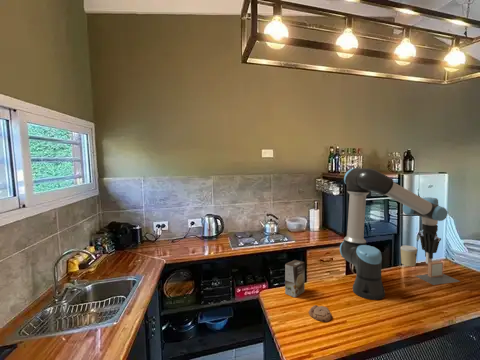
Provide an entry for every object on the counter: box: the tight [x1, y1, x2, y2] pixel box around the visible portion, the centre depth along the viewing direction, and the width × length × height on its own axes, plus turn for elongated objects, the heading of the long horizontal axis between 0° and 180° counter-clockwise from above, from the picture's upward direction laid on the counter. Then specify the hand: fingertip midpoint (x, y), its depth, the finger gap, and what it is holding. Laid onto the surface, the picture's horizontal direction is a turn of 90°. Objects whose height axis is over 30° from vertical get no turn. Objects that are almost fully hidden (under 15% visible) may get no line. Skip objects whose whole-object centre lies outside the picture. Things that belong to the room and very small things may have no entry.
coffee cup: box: [400, 245, 418, 267], centre depth 173 cm, size 9×9×12 cm
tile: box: [427, 260, 444, 277], centre depth 155 cm, size 8×2×8 cm, turn 101°
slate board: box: [415, 273, 461, 286], centre depth 152 cm, size 18×12×1 cm, turn 101°
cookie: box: [308, 304, 333, 323], centre depth 120 cm, size 10×11×3 cm
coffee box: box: [284, 259, 306, 298], centre depth 141 cm, size 9×6×16 cm
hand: (428, 263), depth 159 cm, fingers closed
